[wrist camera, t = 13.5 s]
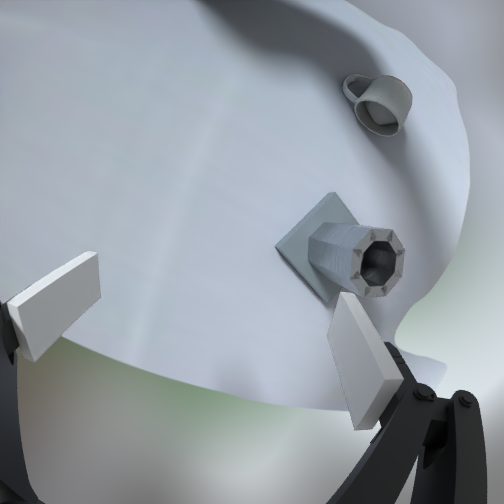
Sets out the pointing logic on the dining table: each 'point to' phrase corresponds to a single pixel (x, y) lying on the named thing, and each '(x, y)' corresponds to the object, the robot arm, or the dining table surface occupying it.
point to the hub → (357, 257)
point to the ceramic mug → (381, 103)
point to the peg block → (298, 237)
